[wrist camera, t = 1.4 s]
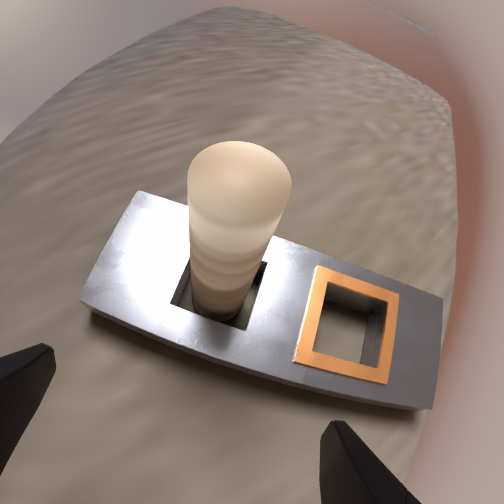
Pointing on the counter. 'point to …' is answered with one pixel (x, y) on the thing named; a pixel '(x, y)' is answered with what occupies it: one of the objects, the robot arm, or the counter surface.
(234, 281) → the peg
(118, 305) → the silver slotted plate
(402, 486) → the robot arm
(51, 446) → the counter surface
